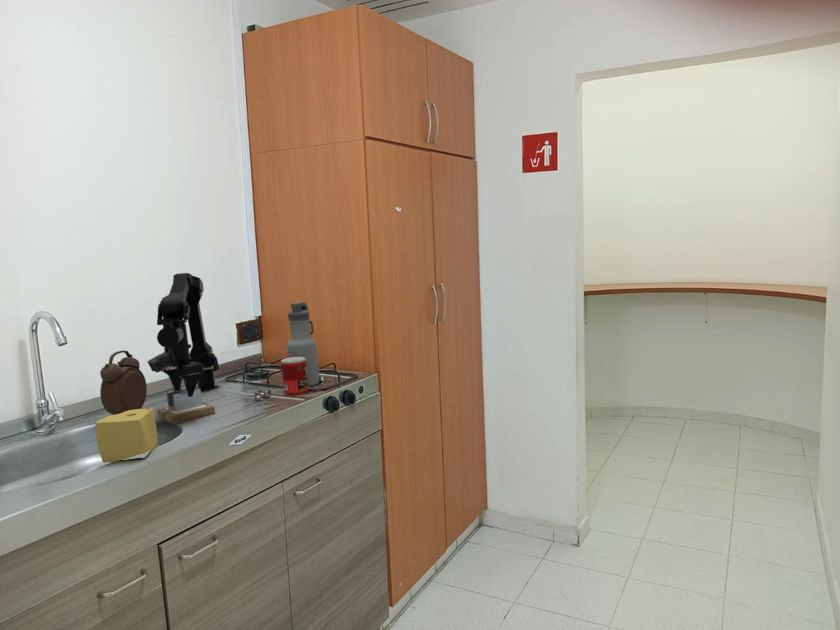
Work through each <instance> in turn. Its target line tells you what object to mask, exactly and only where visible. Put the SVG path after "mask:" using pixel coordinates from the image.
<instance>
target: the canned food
mask: <svg viewBox="0 0 840 630" xmlns="http://www.w3.org/2000/svg"><path fill="white" fill-rule="evenodd" d="M280 362H281V363H280V364H281V365H280V367H281V373H282V383H283V391H284V394H285V395H287V396H298V395H305V394H306V393H308V392H309V387H308V378H307V367H306V359H305V358H304V357H290V358H288V357H286V358H283V359H281V360H280Z"/></svg>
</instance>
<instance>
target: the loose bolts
mask: <svg viewBox="0 0 840 630" xmlns="http://www.w3.org/2000/svg"><path fill="white" fill-rule="evenodd" d="M271 394H272V391H271V390H270V389H269V390H266V389H259V390H258V392H257V391H256V392H254V394H253V401H254V402H261V401H263V399H264V398H267V399H268V398H270V397H271Z"/></svg>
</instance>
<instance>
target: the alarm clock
mask: <svg viewBox="0 0 840 630" xmlns="http://www.w3.org/2000/svg"><path fill="white" fill-rule="evenodd" d="M122 353H124V354H125V357H123V358H121V359H120V361H118V362H117V363H115V362H114V363H113V361H114V357H116V356H117V355H119V354H122ZM140 366H141V364H140V361H139V360H138V359H137V358H135V357H133V354H131V353H130V352H129V351H128V350H118V351H116V352H113V353H112V354H111V355H110V356H109V360H108V363H105V365H104V366H102V368H101V369H100V374H99V376H100V378H101V380H102V381H101V385H100V400H101V404H102V406H103V407H104V408H103V409H105V411H106V412H107V413H109V414H111V415H116V414H120V413H123V412H125V411H128V410H134V409H143V406H144V404H145V401H146V399H147V392H148V390H147V380H146V377H145V374H144V373H143V372H142V371H141V369H140Z"/></svg>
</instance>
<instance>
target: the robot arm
mask: <svg viewBox="0 0 840 630" xmlns="http://www.w3.org/2000/svg"><path fill="white" fill-rule="evenodd" d="M204 291H205V290H204V282H203V281H202V279H201V278H200V277H198V276H194V275H193V274H191V273H189V272H185V273H184V272H183V273H176V274H173V279H172V284H171V288H170V290H169V294H167V295H166V296H164V297H162V298H161V300H160V301H159V303H158V304H157V305H158V306H157V318H156V325H157V326H162V328H161V329H160V330H159V331H158V333H157V336H156V340H157V342H158V344H159V345H160V346H161V347H163V350H164V351H163V352H161V353H159V354H158V355H155V356H154V357H152V358H151V359H149V360H147V364H148V365H149V368H150V370H151V371H152V372H155V373H160V372H162V373H164V374H165V375H167V376H168V378H169V381H170V383H171V385H172V388H173V391H175V390H179V389H181V387H182V381H183V383H184V387H185V388H186V391H187V394H188V397H192V396H193V393H194V390H195V389H197V388H200V390H201V392H204V391H207V390H208V391H209V390H212V389H216V388H217V389H218V388H220V385H219V384H216V383H215V382H216V380H215V375H214V372H216V371H219V370H220V364H219V361H218V357H217V356H216V354H215V353H213V352H214V351H213V347H212V346H211V345H210V344H209V343H208V342H207V340H206V335H205V334H206V333H205V329H204V324H203V317H202V312H201V306H200V305H201V304H200V302H201V300H202V296H203V292H204ZM186 323H188V328H189V333H190V340H191V344H189V339H188V338H189V337H188V332H187V324H186Z"/></svg>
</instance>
